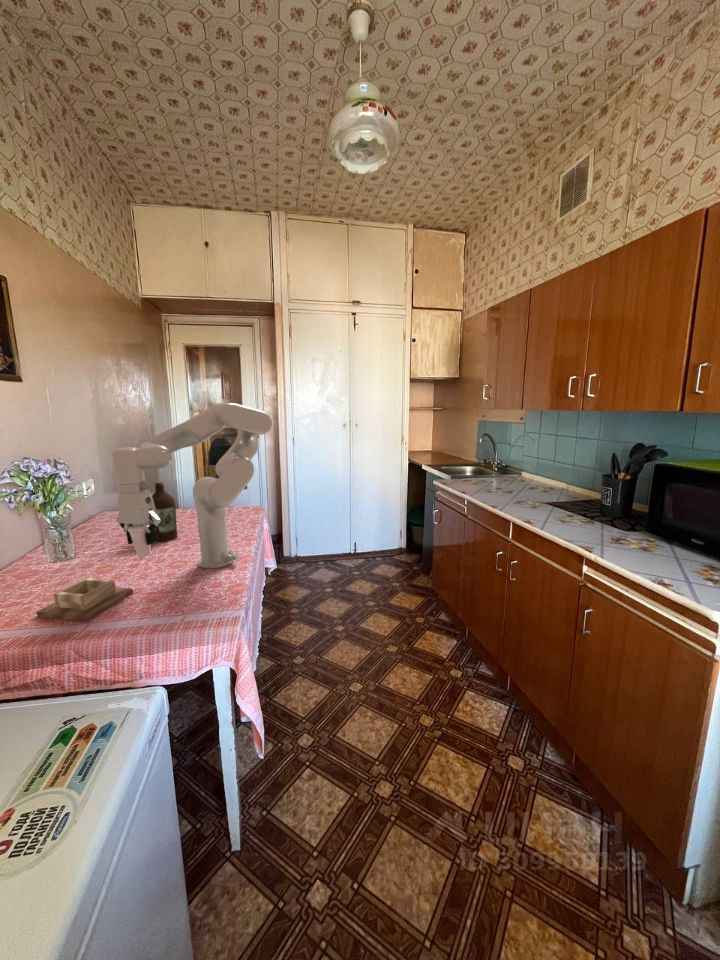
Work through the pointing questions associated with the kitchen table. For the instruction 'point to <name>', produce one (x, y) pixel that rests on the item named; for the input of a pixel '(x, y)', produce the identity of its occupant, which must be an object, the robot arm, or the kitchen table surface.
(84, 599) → the wooden open box
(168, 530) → the olive oil
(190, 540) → the kitchen table surface
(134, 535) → the smoothie
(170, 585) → the kitchen table surface
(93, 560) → the kitchen table surface
